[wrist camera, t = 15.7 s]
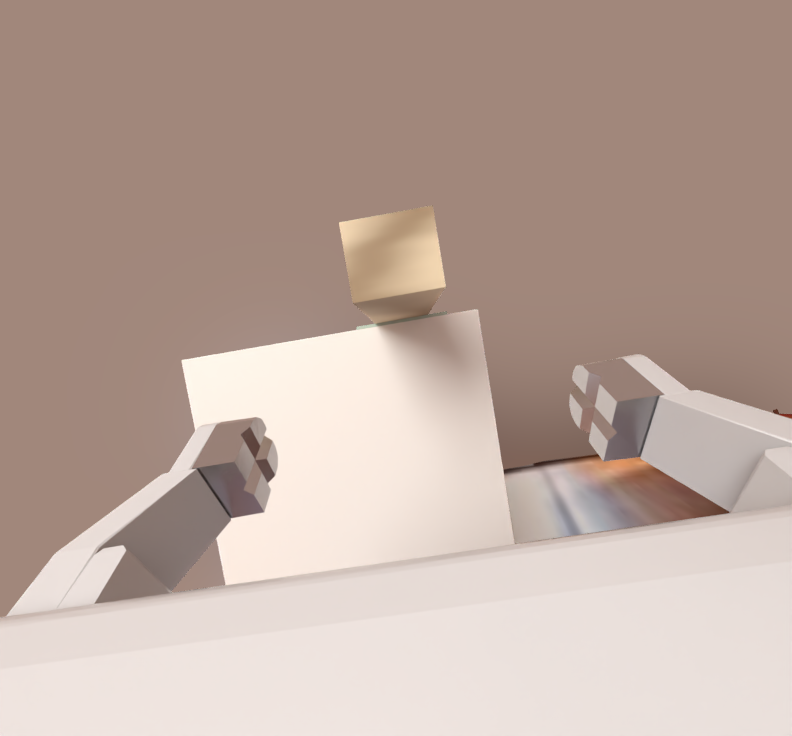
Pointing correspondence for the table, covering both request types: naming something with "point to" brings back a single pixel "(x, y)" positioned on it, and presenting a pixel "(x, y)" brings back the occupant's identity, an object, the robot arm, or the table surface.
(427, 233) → the tan rectangular block
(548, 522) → the table surface
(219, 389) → the white cardboard box
